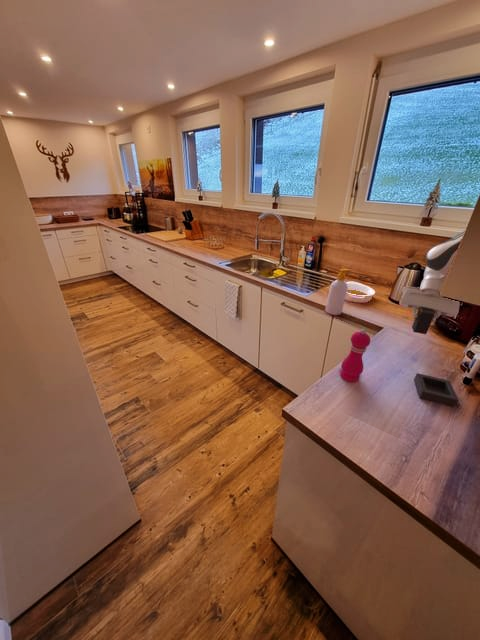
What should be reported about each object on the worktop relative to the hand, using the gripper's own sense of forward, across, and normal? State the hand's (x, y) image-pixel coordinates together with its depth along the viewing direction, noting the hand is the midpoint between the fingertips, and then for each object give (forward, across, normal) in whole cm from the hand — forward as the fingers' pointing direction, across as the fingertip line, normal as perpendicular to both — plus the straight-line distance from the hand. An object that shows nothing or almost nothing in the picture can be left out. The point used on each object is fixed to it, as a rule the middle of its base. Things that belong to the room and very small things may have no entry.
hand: (423, 320), depth 107 cm
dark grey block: (+3, 0, +4) cm, 5 cm away
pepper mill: (+35, -19, -15) cm, 42 cm away
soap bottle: (-2, -38, +21) cm, 43 cm away
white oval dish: (-23, -33, +43) cm, 59 cm away
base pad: (+29, +7, -10) cm, 32 cm away
